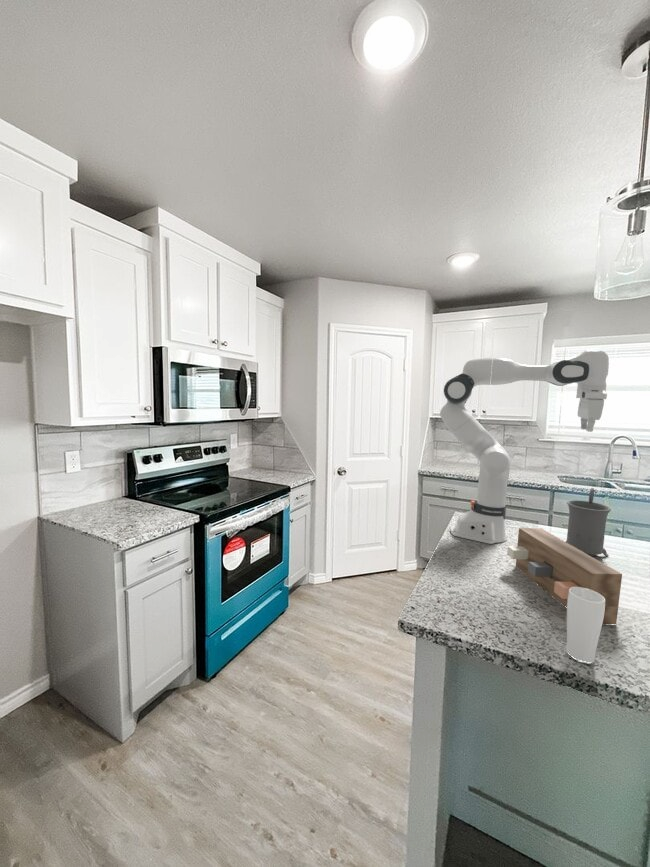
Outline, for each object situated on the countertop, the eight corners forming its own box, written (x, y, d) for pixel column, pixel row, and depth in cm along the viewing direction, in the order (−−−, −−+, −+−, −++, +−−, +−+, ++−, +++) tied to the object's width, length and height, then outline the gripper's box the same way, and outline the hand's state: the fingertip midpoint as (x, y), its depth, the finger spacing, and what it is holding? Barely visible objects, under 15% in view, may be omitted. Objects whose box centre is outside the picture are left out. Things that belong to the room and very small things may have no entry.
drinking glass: (588, 672, 78) (595, 605, 76) (555, 652, 84) (562, 590, 82) (604, 662, 81) (612, 598, 79) (572, 643, 87) (578, 584, 85)
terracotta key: (562, 598, 96) (563, 588, 96) (553, 591, 100) (554, 581, 100) (582, 599, 97) (583, 588, 96) (573, 592, 100) (574, 581, 100)
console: (586, 625, 94) (592, 573, 93) (515, 566, 127) (519, 527, 126) (616, 625, 95) (622, 574, 93) (537, 566, 128) (541, 528, 126)
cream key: (512, 559, 120) (513, 550, 120) (507, 554, 124) (507, 546, 124) (528, 559, 121) (529, 550, 120) (522, 554, 124) (523, 546, 124)
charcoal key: (534, 576, 108) (535, 567, 108) (528, 571, 112) (528, 561, 112) (552, 577, 109) (553, 567, 108) (545, 571, 112) (546, 562, 112)
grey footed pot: (605, 567, 129) (613, 499, 127) (556, 554, 139) (563, 490, 137) (609, 552, 143) (617, 490, 141) (565, 541, 153) (571, 483, 151)
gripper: (575, 393, 148) (571, 427, 149) (586, 393, 129) (582, 432, 131) (594, 394, 145) (590, 428, 147) (608, 394, 126) (603, 433, 128)
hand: (586, 430), depth 139 cm, fingers open, 8 cm apart
